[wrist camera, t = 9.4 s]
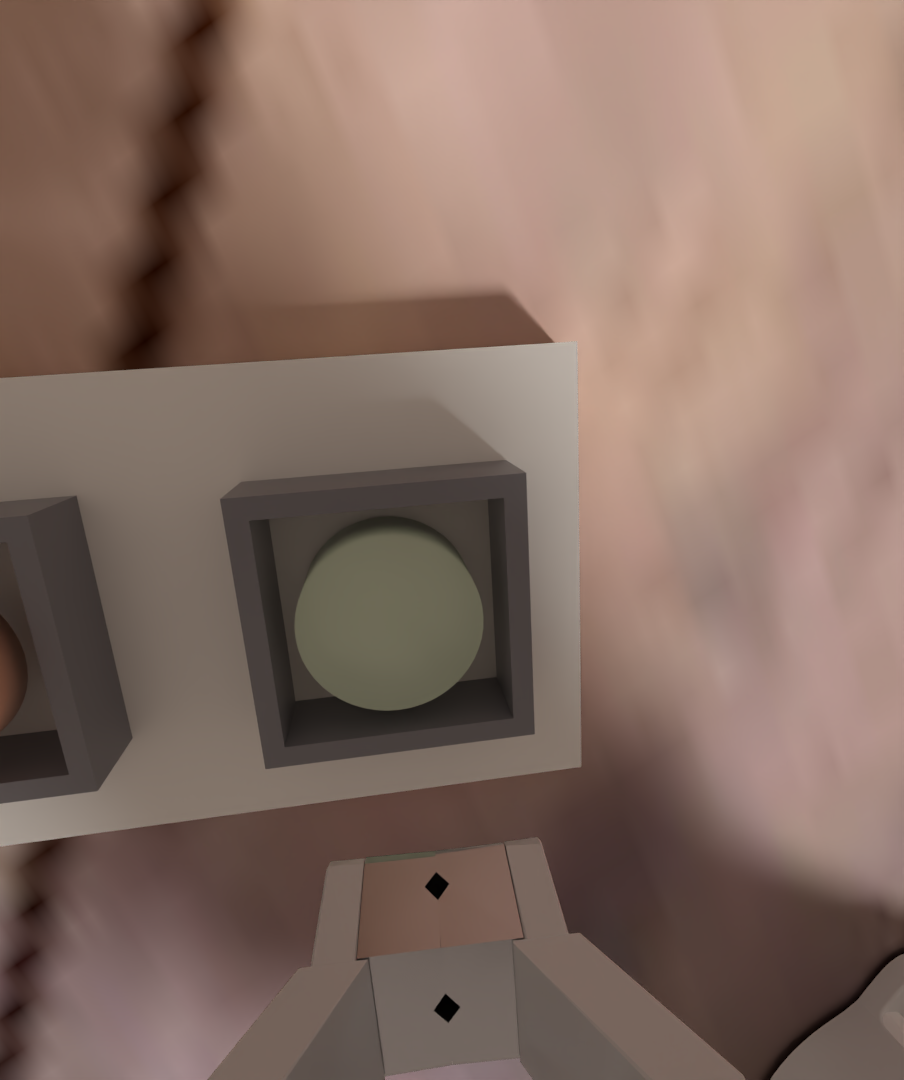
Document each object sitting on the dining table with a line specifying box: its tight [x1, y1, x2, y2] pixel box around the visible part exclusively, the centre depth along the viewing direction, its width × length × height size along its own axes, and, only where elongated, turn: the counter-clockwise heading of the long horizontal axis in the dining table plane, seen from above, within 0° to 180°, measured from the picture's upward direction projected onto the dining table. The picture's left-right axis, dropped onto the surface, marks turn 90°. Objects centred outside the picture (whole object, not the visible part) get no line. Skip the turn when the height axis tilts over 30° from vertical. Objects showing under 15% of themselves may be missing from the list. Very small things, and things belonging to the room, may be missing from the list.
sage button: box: [294, 516, 484, 711], centre depth 17 cm, size 5×5×2 cm
